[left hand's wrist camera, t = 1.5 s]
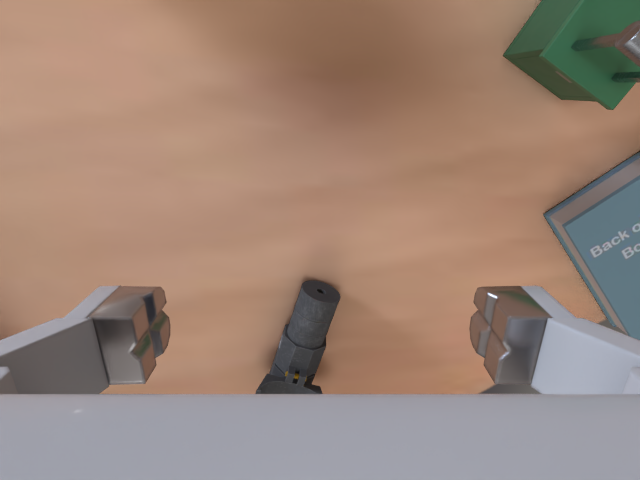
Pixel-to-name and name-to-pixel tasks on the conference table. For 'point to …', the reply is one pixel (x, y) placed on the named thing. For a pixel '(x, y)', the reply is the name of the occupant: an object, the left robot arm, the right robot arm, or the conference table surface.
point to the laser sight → (302, 342)
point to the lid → (599, 49)
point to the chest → (534, 40)
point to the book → (606, 241)
